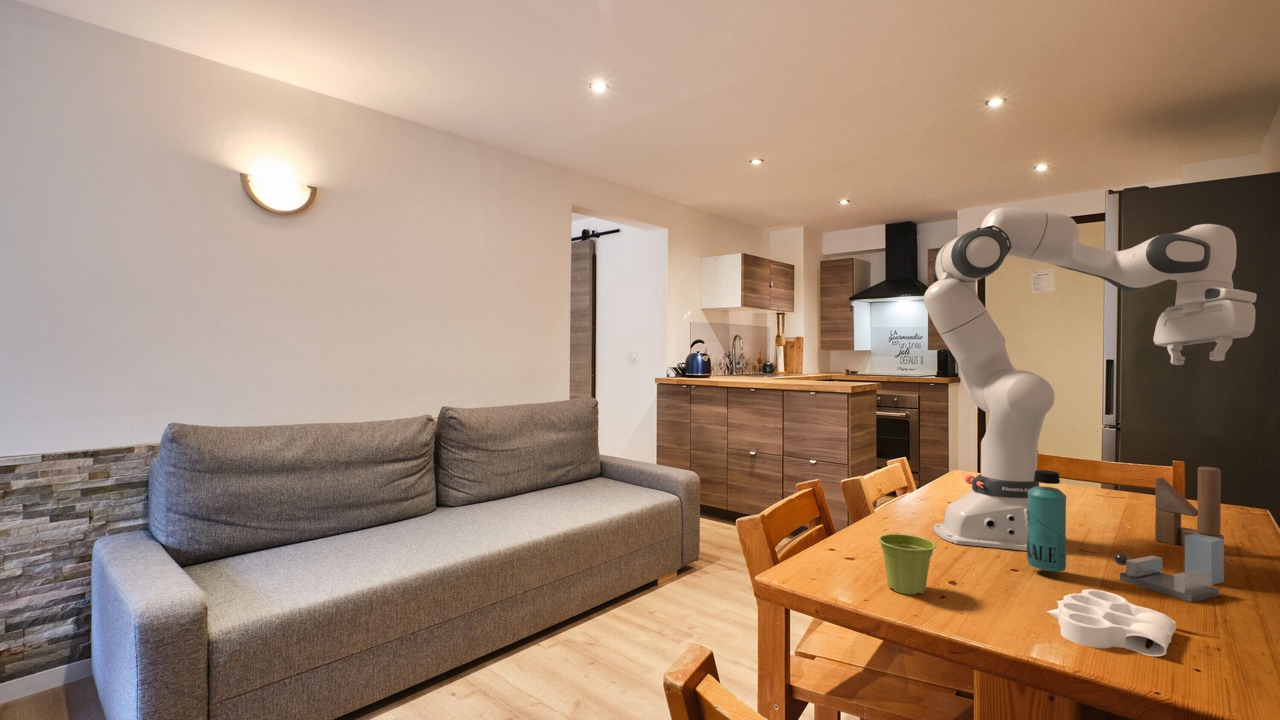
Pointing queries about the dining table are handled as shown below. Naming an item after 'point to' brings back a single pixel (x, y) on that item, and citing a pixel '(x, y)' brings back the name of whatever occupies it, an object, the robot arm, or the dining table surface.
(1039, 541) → the beverage bottle
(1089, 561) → the dining table surface
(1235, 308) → the robot arm
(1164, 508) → the brown wooden angled piece
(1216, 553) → the steel block
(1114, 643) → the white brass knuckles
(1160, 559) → the free jaw
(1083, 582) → the dining table surface
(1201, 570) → the vise
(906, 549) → the plant pot
